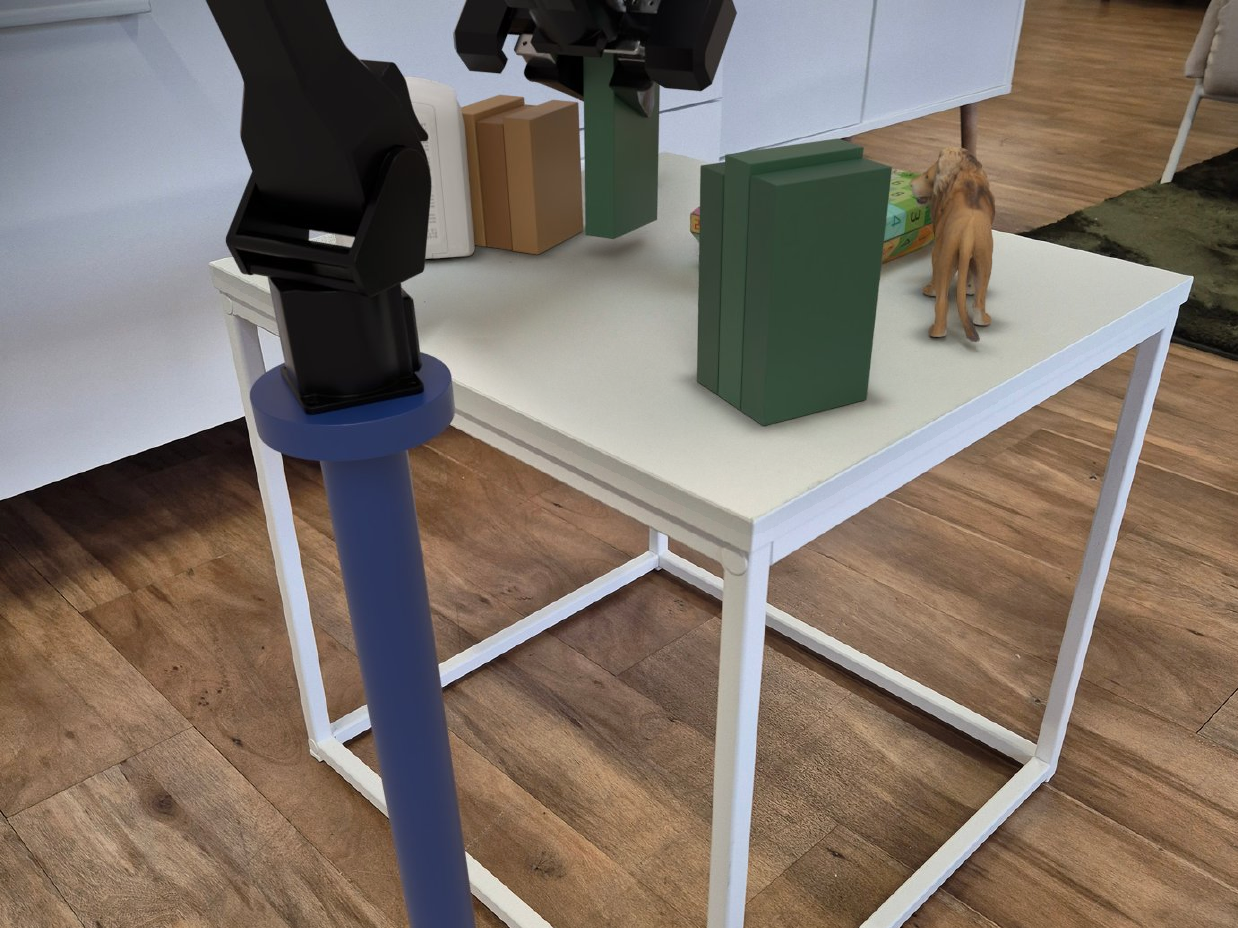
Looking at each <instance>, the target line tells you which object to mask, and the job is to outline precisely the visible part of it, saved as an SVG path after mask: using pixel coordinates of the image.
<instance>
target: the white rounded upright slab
mask: <svg viewBox="0 0 1238 928" xmlns="http://www.w3.org/2000/svg"><path fill="white" fill-rule="evenodd" d="M403 76H404V78H405V80H406V82H407V87H408V91H409V95H410V99H411V103H412V106H413V109H414V112H415V115H416V117H417V119H418V121H419V123H420V125H421V126H422V127H423V128H424V130H425V131H426V132H427V134H428V140H427V141H422V142H421V143H422V145H423V148H424V150H425V152H426V155H427V159H428V163H429V167H430V174H431V200H430V211H429V223H428V234H427V245H426V256H425V260H427V259H441V258H442V259H443V258H457V257H458V258H459V257H470V256H472V255H473V253H474V252H475V250H476V249H475V248H476V247H475V246H476V245H474V232H473V220H472V208H471V195H470V184H469V171H468V160H467V147H466V136H465V125H464V120H463V116H462V111H461V107H462V106H461V105H460V102H459V101H458V99H457V93H456V90H455V89H454V87H453V86H451V85H448V84H445V83H443V82H440V81H436V80H432V79H428V78H423V77H417V76H410V75H409V76H408V75H403ZM334 237H335V245H341V246H347V247H352V244H353V242H354V239H355V238H354V237H348V236H341V235H335V234H334Z"/></svg>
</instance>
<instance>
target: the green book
mask: <svg viewBox="0 0 1238 928" xmlns="http://www.w3.org/2000/svg"><path fill="white" fill-rule="evenodd" d="M617 61H618V54H616V53H603V55H602V58H596V57H584V56H583V81H584V102H583V141H584V142H583V146H584V147H583V148H584V149H583V150H584V152H583V153H584V158H583V159H584V220H585V221H584V225H585V226H584V227H585V236H588V237H595V238H601V239H608V240H615V239H617V238H620V237H622V236H624V235H626V234H629V233H631V232H634V231H636V230H638V229H640V228H642V227H644V226H647V225H649V224H651V223H653V222H656V221H657V220H658V203H659V202H658V200H659V199H658V198H659V196H658V195H659V152H660V151H659V150H660V149H659V148H660V147H659V146H660V145H659V142H660V103H661V102H660V99H661V97H660V95H661V94H660V93H661V85H659V84H657V83H656V82H654V108H653V111H652V114H651V116H650V118H645V117H643V116H642V115H640V114H639V113H638V112H636V111H635V110H634V109H633V108H632V107H631V106H630V105H629V104H627V103H626V102H625V101H624V100H623V99H622V98H621V97H620V96H619V95H617V94H616V93H615V92H614V91H613V90H612V89H611V88H610V87H609V83H610V80H611V77H612V75H613V72H614V69H615V66H616V64H617Z"/></svg>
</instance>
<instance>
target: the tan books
mask: <svg viewBox="0 0 1238 928" xmlns="http://www.w3.org/2000/svg"><path fill="white" fill-rule="evenodd" d="M460 107H461V111H462V116H463V120H464V125H465V136H466V147H467V160H468V171H469V184H470V195H471V208H472V220H473V232H474V245H475V246H478V247H488V248H493V249H501V250H506V251H513V252H518V253H523V254H531V255H537V256H539V255H540V254H542V253H544V252H546V251H548V250H550V249H552V248H554V247H556V246H557V245H559V244H562V243H563V242H565V241H567V240H568V239H571V238H572V237H575V236H576V235H578V234H579V233H581V232H584V206H583V186H582V185H583V184H582V183H583V182H582V160H581V159H582V157H581V135H580V134H581V133H580V131H581V130H580V109H579V102H578V101H570V100H559V99H551V100H548V101H545V102H543V103H540V104H536V105H535V104H526V103H525V97H524V96H516V95H509V94H508V95H507V94H498V95H495V96H492V97H488V98H486V99H482V100H479V101H476V102H473V103H470V104H467V105H464V106H460Z"/></svg>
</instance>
